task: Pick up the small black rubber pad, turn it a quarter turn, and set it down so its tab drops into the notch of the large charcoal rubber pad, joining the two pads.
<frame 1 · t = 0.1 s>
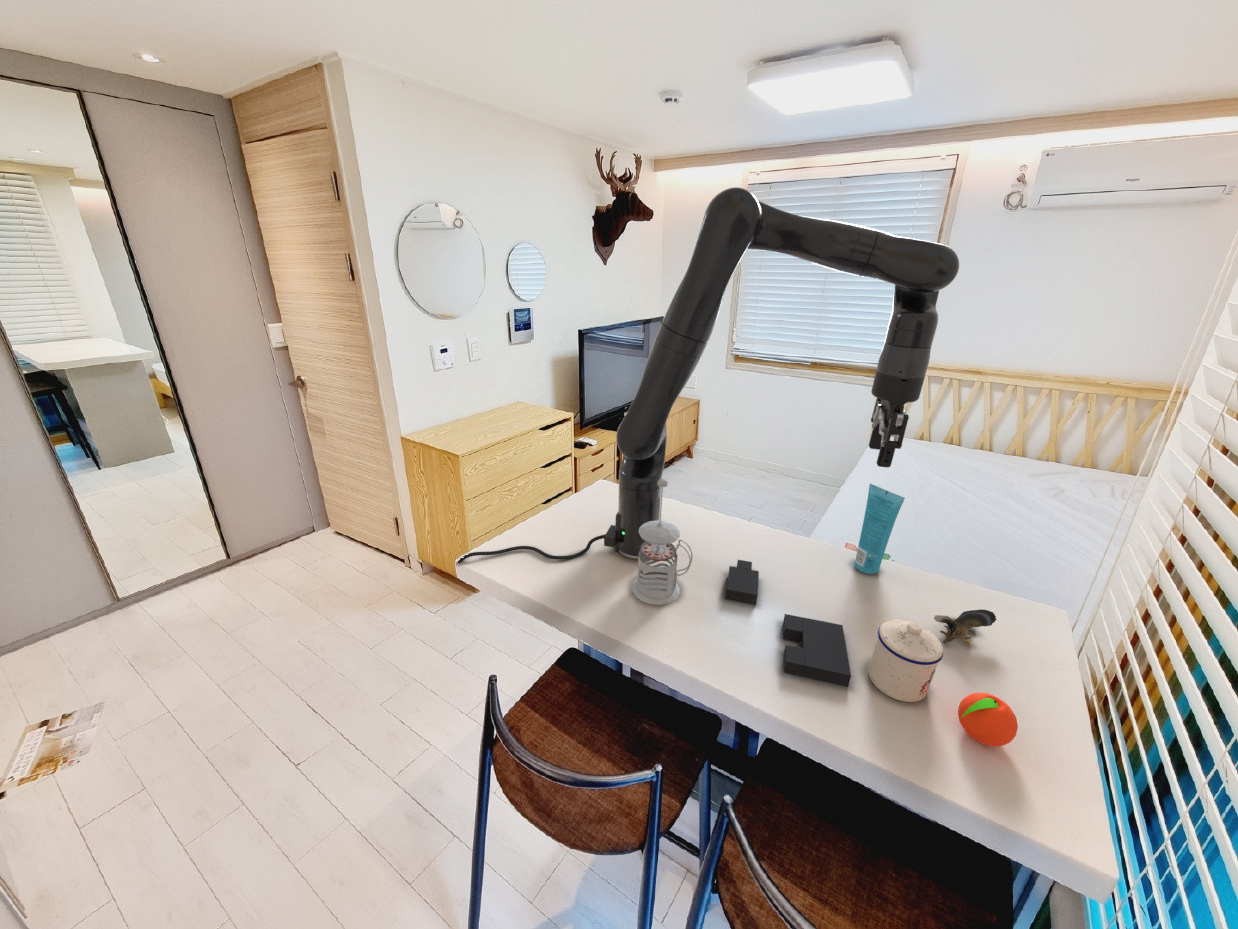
hand: (878, 457, 93), 29 cm above the table, tool pointing down, fingers open, 8 cm apart
french press: (660, 590, 102), on the table
teacup with lid: (895, 675, 83), on the table
clementine: (975, 737, 73), on the table
large pad: (812, 653, 87), on the table
tube: (865, 568, 111), on the table
small pad: (741, 589, 103), on the table
eagle figurine: (958, 638, 92), on the table
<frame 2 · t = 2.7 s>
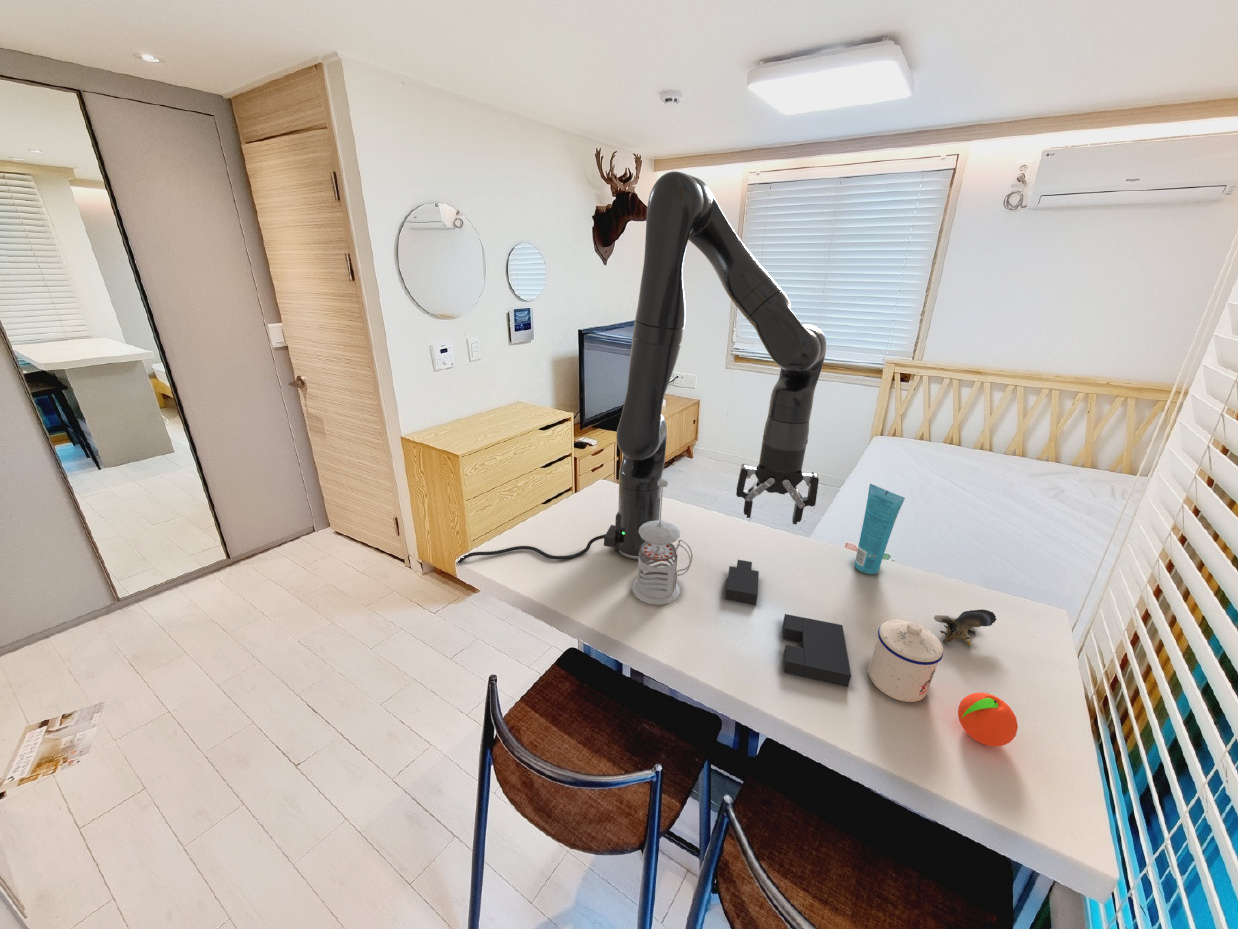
hand: (771, 519, 96), 17 cm above the table, tool pointing down, fingers open, 8 cm apart
nothing on the table moved.
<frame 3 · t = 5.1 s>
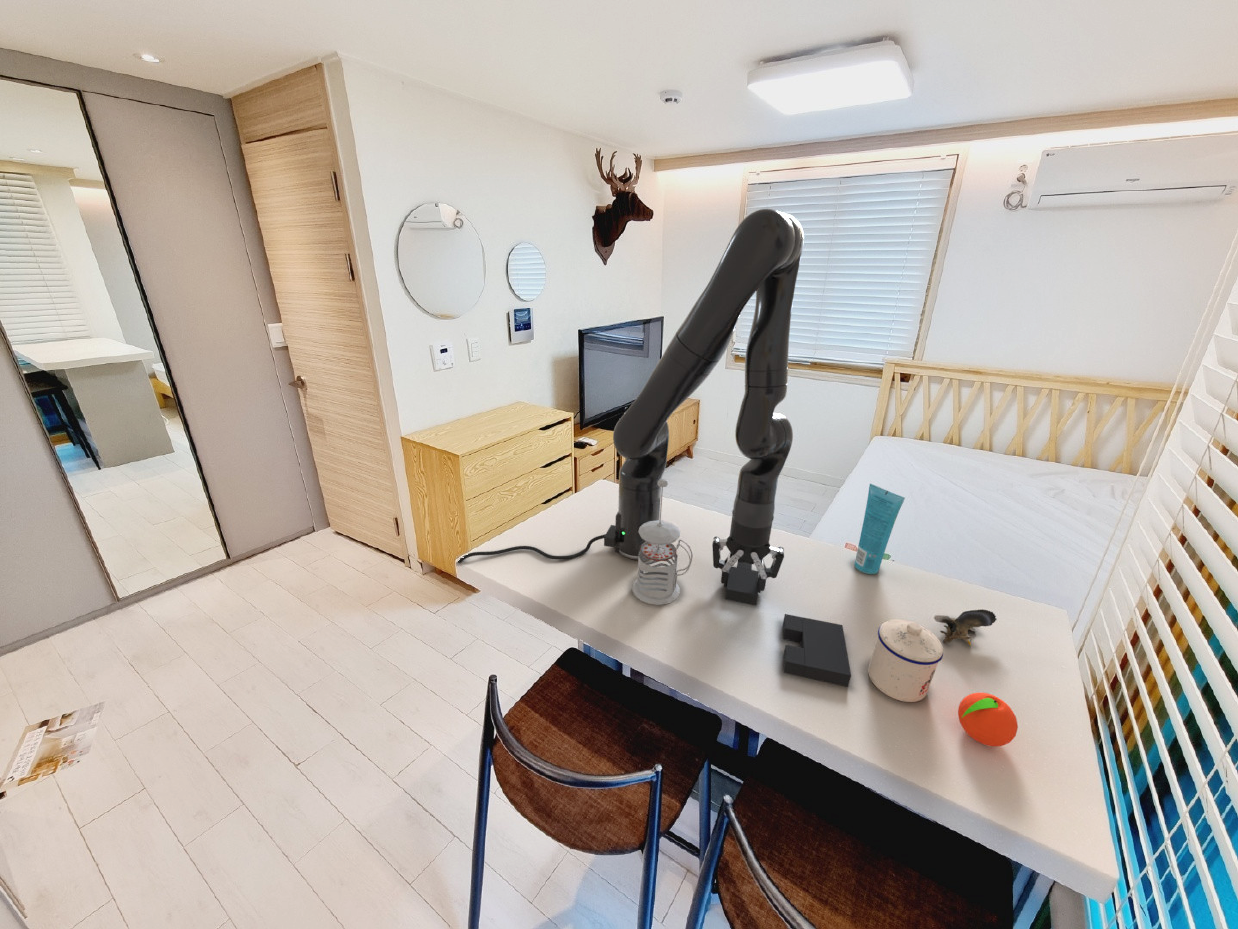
hand: (741, 587, 103), 1 cm above the table, tool pointing down, fingers closed on small pad, 6 cm apart
small pad: (741, 589, 103), on the table, touching gripper
everything else where it was.
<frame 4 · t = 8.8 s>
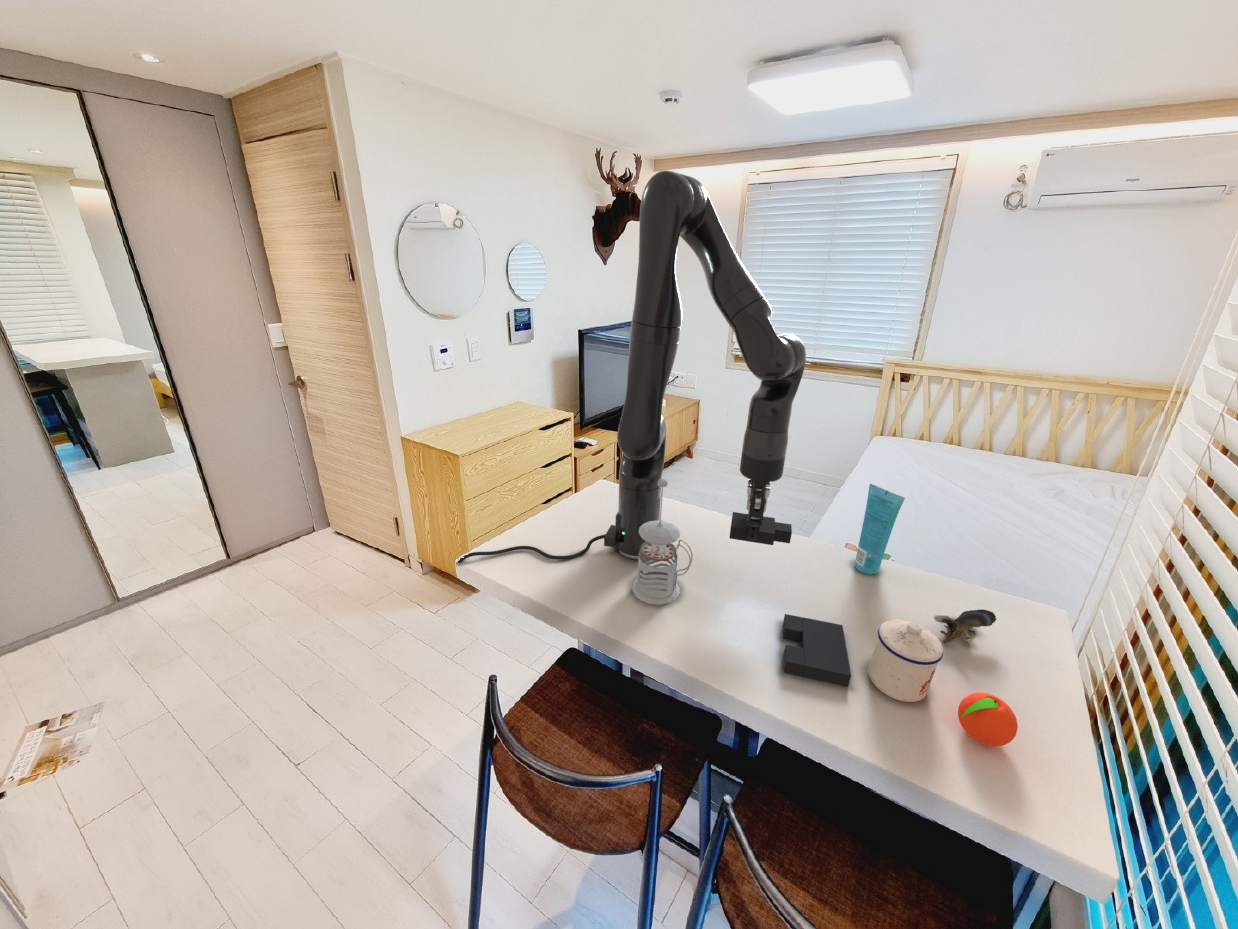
hand: (752, 530, 96), 15 cm above the table, tool pointing down, fingers closed on small pad, 6 cm apart
small pad: (751, 533, 96), point 14 cm above the table, touching gripper
everything else where it was.
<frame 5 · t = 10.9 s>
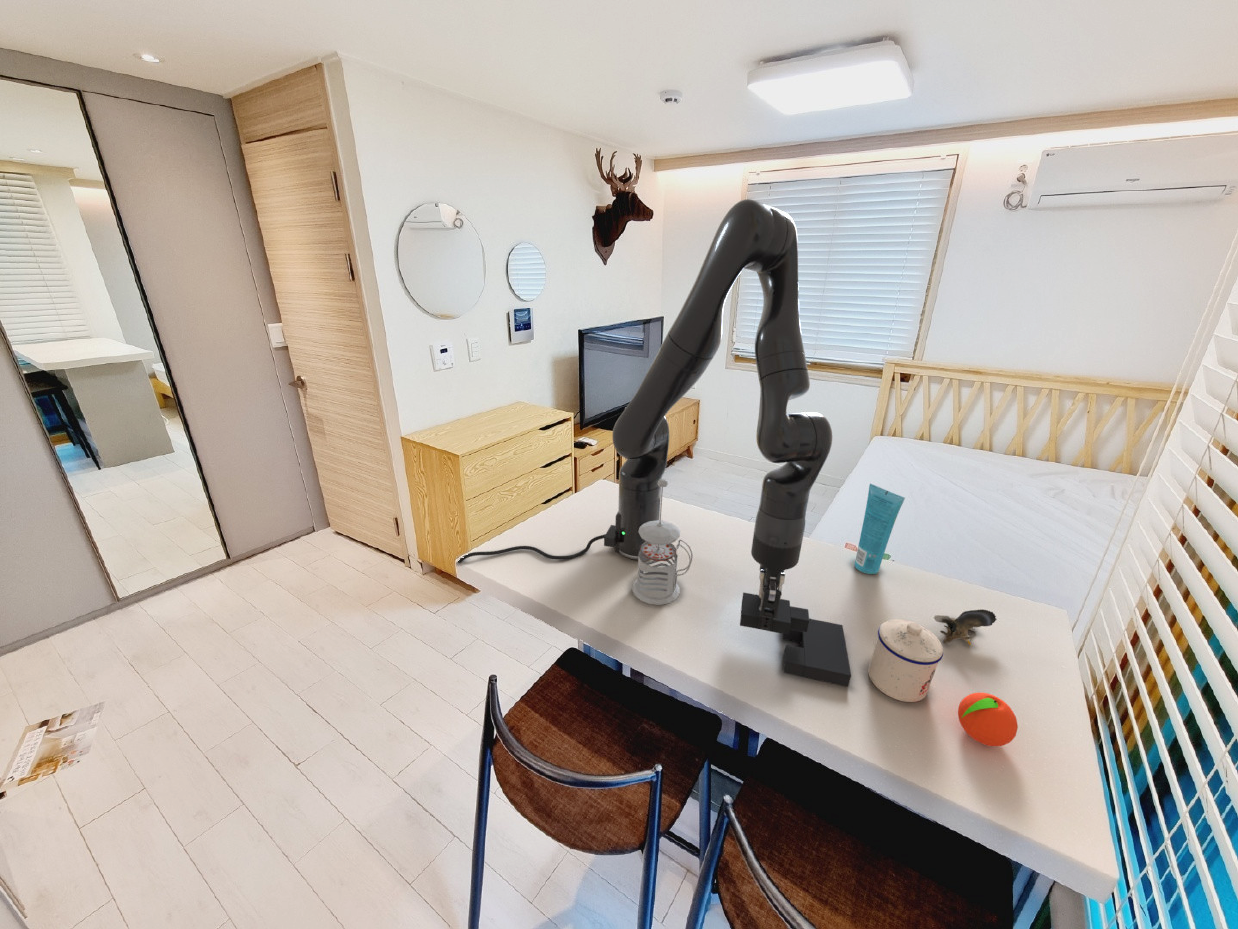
hand: (764, 615, 87), 6 cm above the table, tool pointing down, fingers closed on small pad, 6 cm apart
small pad: (764, 618, 88), point 5 cm above the table, touching gripper
everything else where it was.
when the fingers open (1 cm above the table, at t = 12.6 s): small pad stays where it is, on the table.
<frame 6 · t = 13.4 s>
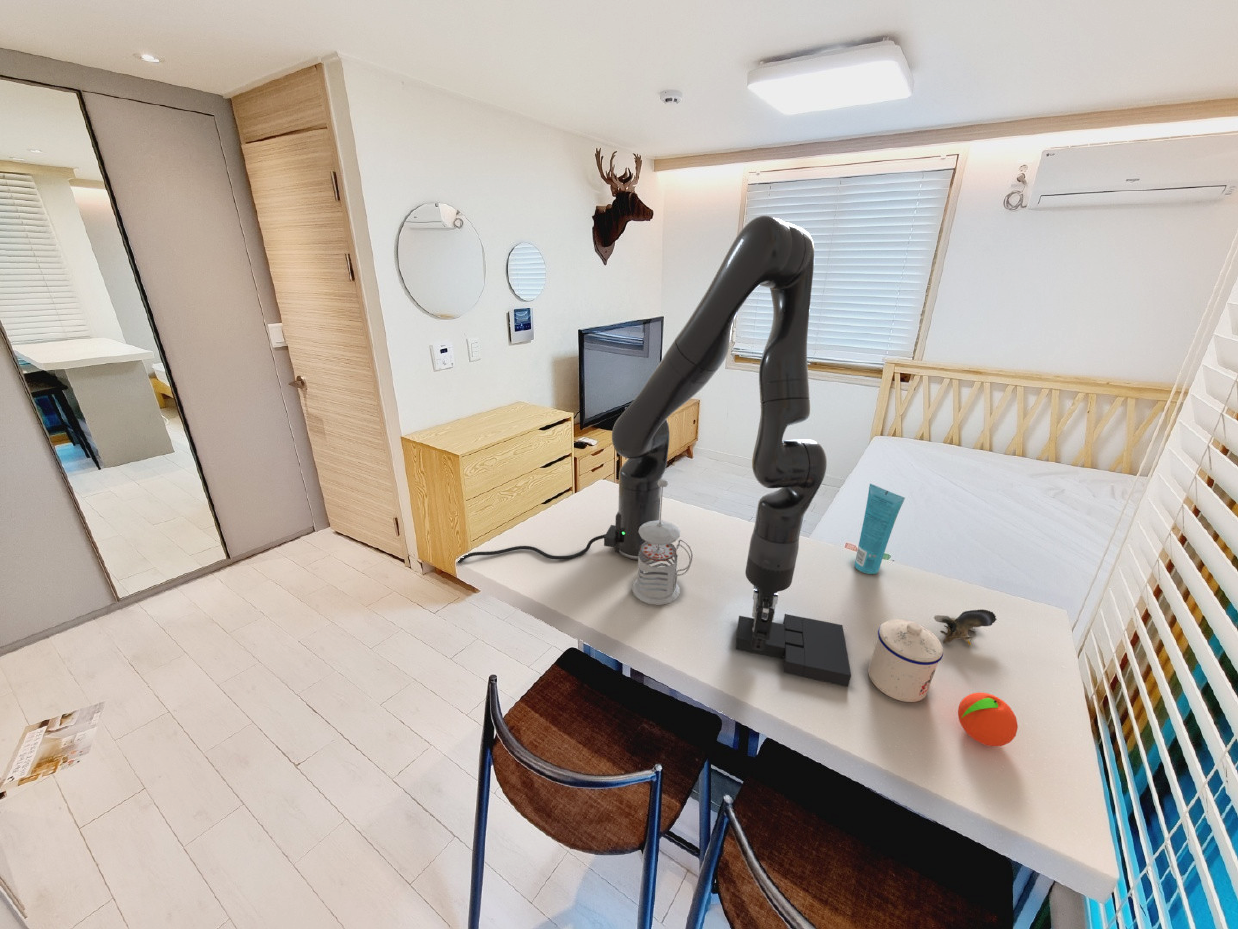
hand: (758, 631, 89), 2 cm above the table, tool pointing down, fingers open, 8 cm apart
small pad: (759, 642, 90), on the table
everything else where it was.
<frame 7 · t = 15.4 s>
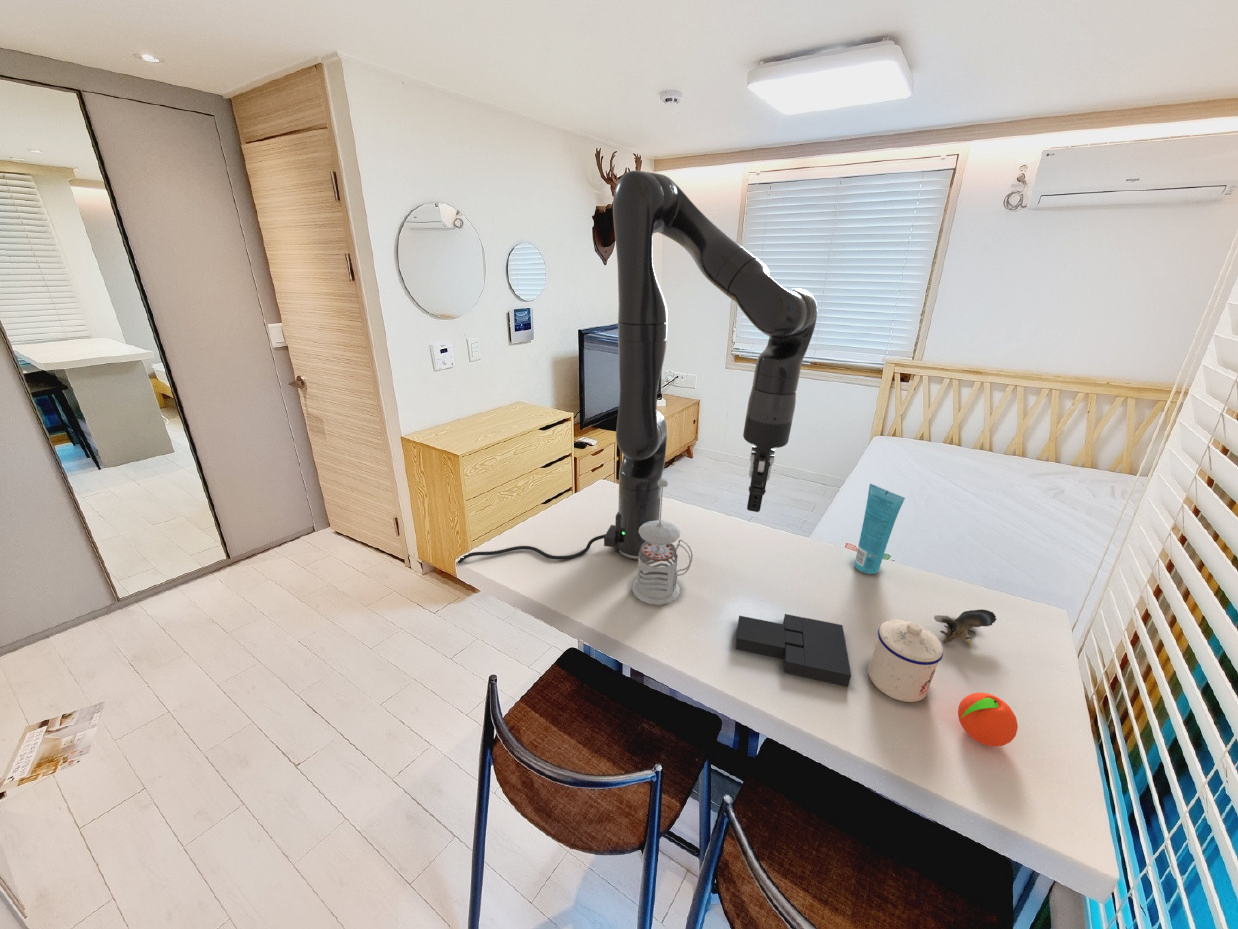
hand: (754, 499, 91), 23 cm above the table, tool pointing down, fingers open, 8 cm apart
nothing on the table moved.
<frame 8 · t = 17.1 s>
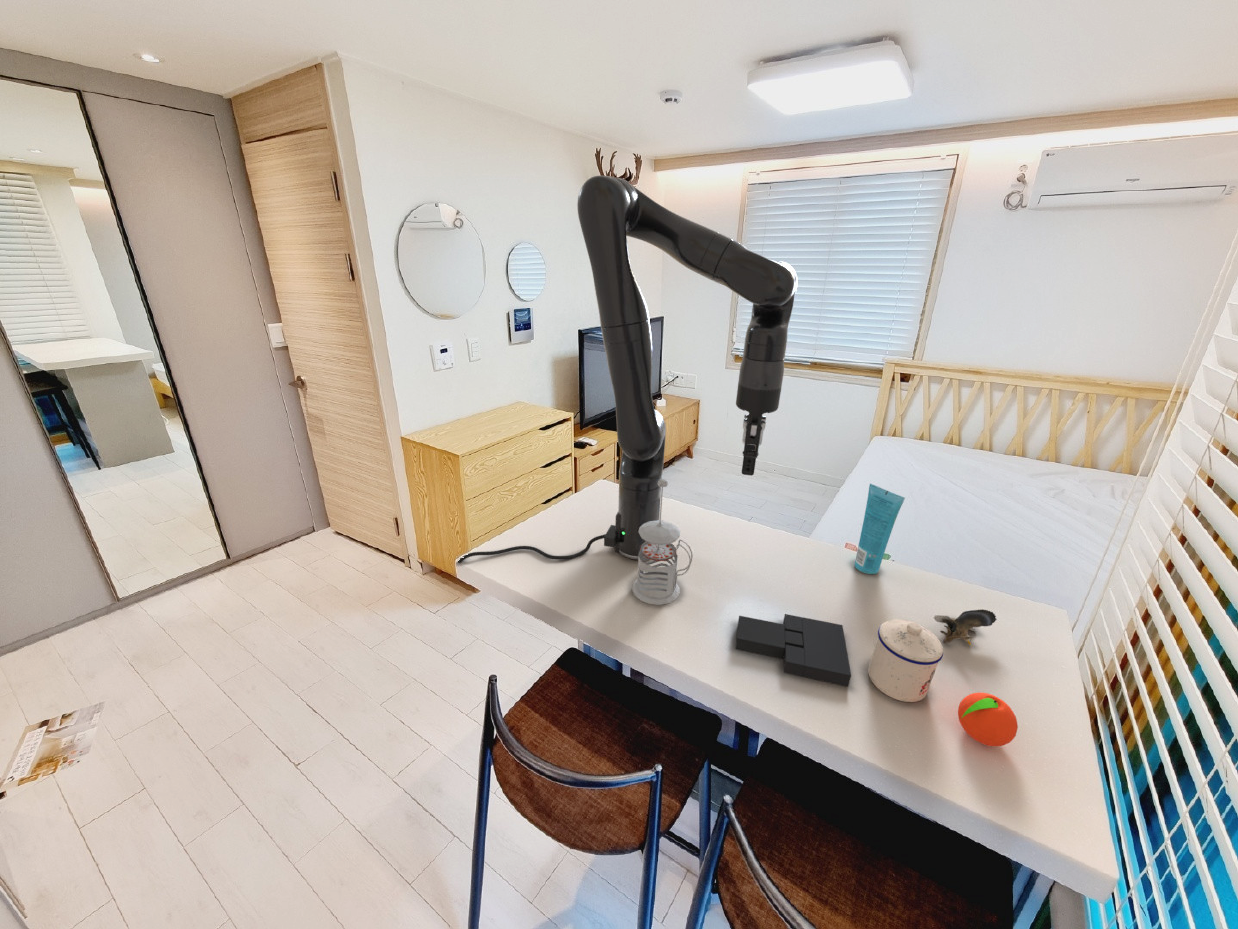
hand: (748, 465, 96), 26 cm above the table, tool pointing down, fingers open, 8 cm apart
nothing on the table moved.
at the end: small pad 0.3 cm from the target spot on the table beside the large pad, on the table; small pad tilted 0°; the gripper is holding nothing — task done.
